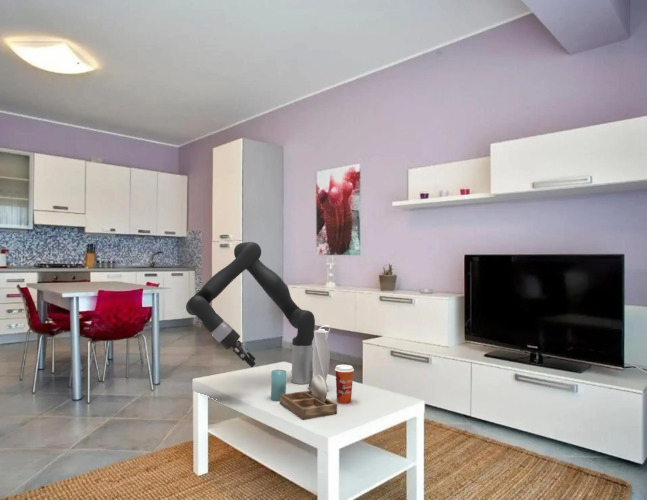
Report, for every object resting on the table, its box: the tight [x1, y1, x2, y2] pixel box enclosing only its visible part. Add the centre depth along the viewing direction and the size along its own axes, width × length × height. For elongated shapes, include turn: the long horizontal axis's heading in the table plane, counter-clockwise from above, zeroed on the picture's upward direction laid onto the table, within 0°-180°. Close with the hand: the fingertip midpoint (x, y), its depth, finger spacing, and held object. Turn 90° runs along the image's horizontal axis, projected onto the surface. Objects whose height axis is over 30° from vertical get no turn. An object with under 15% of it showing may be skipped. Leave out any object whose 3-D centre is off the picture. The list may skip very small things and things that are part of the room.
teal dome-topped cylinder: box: [270, 369, 287, 402], centre depth 179 cm, size 6×6×11 cm
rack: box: [279, 375, 338, 421], centre depth 168 cm, size 14×20×12 cm
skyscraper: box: [307, 324, 332, 393], centre depth 193 cm, size 8×8×28 cm
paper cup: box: [334, 364, 355, 405], centre depth 177 cm, size 8×8×14 cm
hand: (253, 363), depth 178 cm, fingers open, 8 cm apart
